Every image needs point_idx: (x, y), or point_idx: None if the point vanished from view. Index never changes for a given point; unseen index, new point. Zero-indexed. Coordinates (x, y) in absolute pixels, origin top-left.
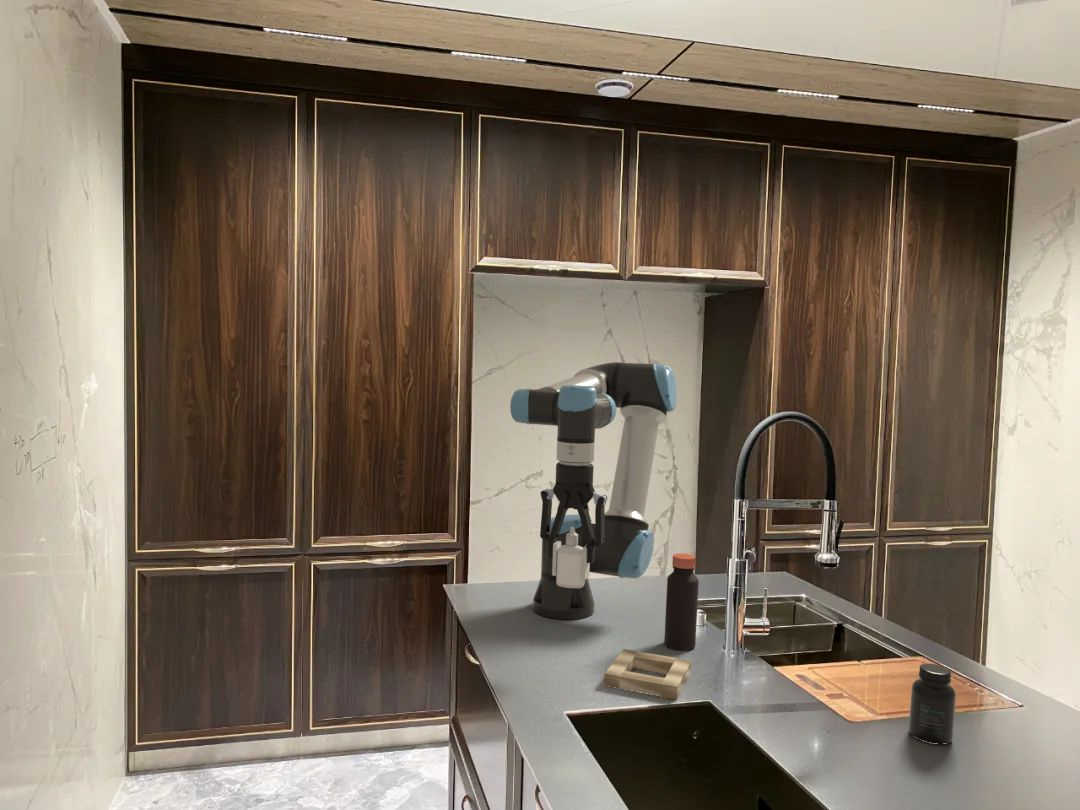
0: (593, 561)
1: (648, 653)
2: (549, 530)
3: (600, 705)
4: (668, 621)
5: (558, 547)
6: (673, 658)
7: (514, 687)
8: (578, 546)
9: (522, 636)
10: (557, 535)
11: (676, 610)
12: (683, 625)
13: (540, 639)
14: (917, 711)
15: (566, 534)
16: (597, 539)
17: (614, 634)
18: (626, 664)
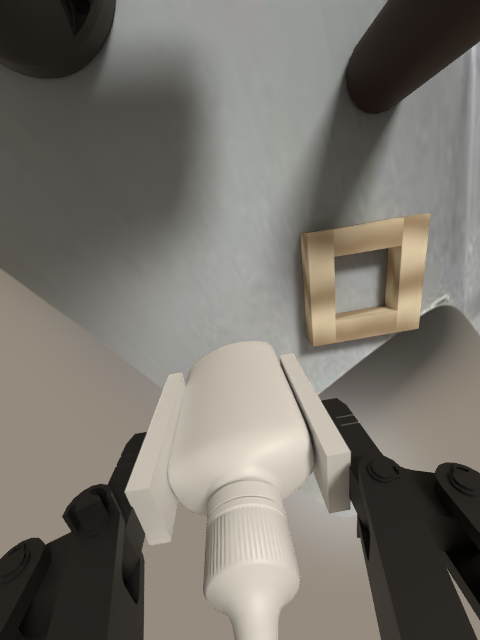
0: (337, 399)
1: (353, 227)
2: (21, 607)
3: (321, 385)
4: (393, 72)
5: (168, 491)
6: (399, 222)
7: None
8: (285, 484)
9: (90, 235)
10: (118, 556)
11: (444, 57)
12: (431, 77)
13: (127, 228)
14: None
15: (215, 607)
16: (465, 568)
17: (232, 95)
18: (332, 297)
